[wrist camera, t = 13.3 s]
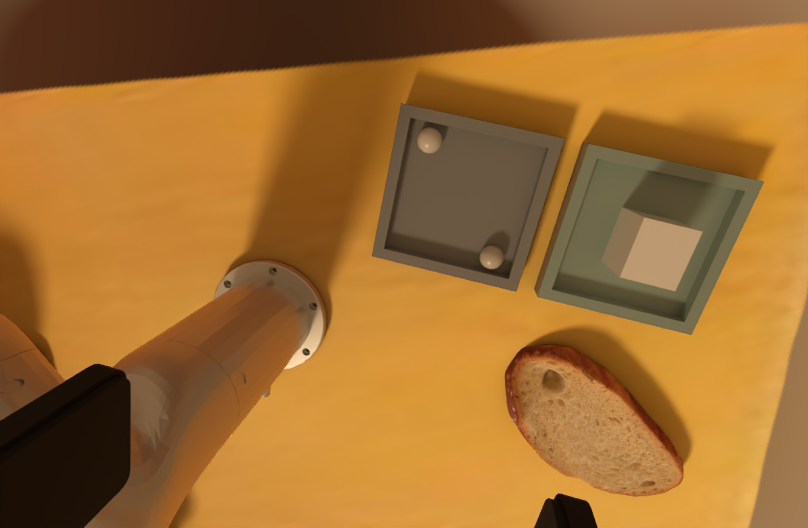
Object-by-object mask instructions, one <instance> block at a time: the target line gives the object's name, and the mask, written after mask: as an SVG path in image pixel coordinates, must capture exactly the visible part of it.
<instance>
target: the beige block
mask: <svg viewBox="0 0 808 528" xmlns="http://www.w3.org/2000/svg"><path fill="white" fill-rule="evenodd" d="M702 233H703V232H702V231H700V230H698V229H695V228H693V227H690V226H688V225H685V224H683V223H680V222H678V221H676V220H673V219H669V218H665V217H661V216H657V215H653V214H649V213H644V212H640V211H636V210H632V209H628V208H624V207H622V209H621V211H620V214H619V216H618V219H617V221H616V224H615V226H614V229H613V232H612V234H611V237H610V239H609V242H608V244H607V247H606V249H605V252H604V254H603V257H602V261H603V262H604V263H605V264H606V265H607V266H608V267H609V268H610V269H612V270H613V271H614V272H615V273H616V274H617V275H618V276H619V277H621V278H625V279H629V280H633V281H636V282H640V283H644V284H648V285H652V286H656V287H660V288H664V289H668V290H672V291H676V289H677V286H678V284H679V282H680V280H681V278H682V276H683V273H684V271H685V269H686V267H687V265H688V263H689V261H690V258H691V256H692V254H693V252H694V250H695V248H696V245H697V243H698V241H699V239H700V237H701V235H702Z"/></svg>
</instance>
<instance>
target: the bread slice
mask: <svg viewBox="0 0 808 528" xmlns="http://www.w3.org/2000/svg"><path fill="white" fill-rule="evenodd" d="M505 387H506V396H507V406H508V411H509V414H510V416H511V418H512V419H513V421H514V422H515V424H516V425H517V427H518V429H519V430H520V432H521V433H522V435H523V437H524V438H525V439H526V441H527V442H528V443H529V444H530V445H531V447H532V448H533V449H534V450H535V451H536V452H537V453H538V455H539V456H540V457H541V458H542V459H543V460H544V461H546V462H547V463H548V464H549V465H550V466H551V467H553V468H554V469H556V470H557V471H558V472H560V473H562V474H563V475H566V476H570V477H575V478H578V479H580V480H582V481H584V482H587V483H588V484H590V485H591V486H593V487H594V488H597V489H600V490H603V491H607V492H610V493H615V494H623V495H629V496H635V497H636V496H650V495H655V494H662V493H665V492H667V491H668V490H670V489H672V488H675V487H677V486H678V485H679V484H680V483H681V481H682V479H683V464H682V459H681V458H680V456H679V455H678V453H677V451H676V449H675V447H674V446H673V444H672V443H671V441H670V440H669V439H668V437H667V436H666V435H665V434H664V432H663V431H662V430H661V428H660V427H659V426H658V425H657V424H656V423H655V422H654V421H653V420H652V419H651V418H650V416H649V415H648V414H647V413H646V412H645V410H644V409H643V408H642V407H641V406H640V404H639V403H638V402H637V401H636V400H635V398H634V397H633V396H632V395H631V394H630V393H629V391H628V390H627V389H626V388H625V387H624V386H623V385H622V384H621V383H620V382H619V381H618V380H617V379H616V378H615V377H614V376H613V375H612V374H611V373H610V372H609V371H607V370H606V369H605V368H603V367H600V366H598V365H597V364H595V363H594V362H593V361H592V360H590V359H589V358H587V357H586V356H584V355H583V354H581V353H580V352H578V351H576V350H574V349H572V348H569V347H564V346H558V345H540V346H535V347H525V348H523V349H521V350H520V351H519V352H518V353H517V354H516V356H515V357H514V359H513V360H512V362H511V363H510V365H509V366H508V368H507V370H506V372H505Z"/></svg>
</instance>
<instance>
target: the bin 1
mask: <svg viewBox="0 0 808 528" xmlns="http://www.w3.org/2000/svg"><path fill="white" fill-rule="evenodd" d="M564 139H565V138H560V137H555V136H551V135H546V134H541V133H537V132H532V131H528V130H523V129H518V128H514V127H509V126H505V125H500V124H495V123H491V122H486V121H481V120H477V119H472V118H468V117H463V116H458V115H454V114H449V113H445V112H440V111H435V110H431V109H426V108H421V107H417V106H412V105H408V104H403V103H401V108H400V113H399V118H398V123H397V129H396V134H395V139H394V144H393V149H392V154H391V160H390V165H389V170H388V175H387V180H386V185H385V191H384V196H383V201H382V206H381V211H380V217H379V222H378V227H377V232H376V237H375V242H374V248H373V253H372V256H374V257H378V258H382V259H386V260H390V261H394V262H398V263H402V264H406V265H410V266H414V267H418V268H422V269H426V270H430V271H434V272H438V273H442V274H447V275H451V276H455V277H459V278H463V279H467V280H471V281H475V282H479V283H483V284H487V285H491V286H495V287H499V288H503V289H507V290H511V291H515V292H516V291H517V288H518V285H519V282H520V278H521V275H522V272H523V269H524V266H525V263H526V259H527V256H528V253H529V250H530V247H531V244H532V240H533V237H534V234H535V231H536V228H537V225H538V221H539V218H540V215H541V212H542V209H543V206H544V203H545V199H546V196H547V193H548V190H549V187H550V184H551V180H552V177H553V174H554V171H555V168H556V165H557V161H558V158H559V155H560V152H561V149H562V146H563V142H564Z"/></svg>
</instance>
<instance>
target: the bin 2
mask: <svg viewBox="0 0 808 528" xmlns="http://www.w3.org/2000/svg"><path fill="white" fill-rule="evenodd" d="M763 183H764V182H763V181H759V180H754V179H749V178H745V177H740V176H735V175H731V174H726V173H722V172H717V171H712V170H708V169H703V168H699V167H694V166H689V165H685V164H680V163H675V162H671V161H666V160H662V159H657V158H652V157H648V156H643V155H638V154H634V153H629V152H625V151H620V150H615V149H611V148H606V147H602V146H597V145H592V144H585V143H582V145H581V148H580V151H579V154H578V157H577V160H576V163H575V167H574V170H573V173H572V176H571V179H570V182H569V185H568V188H567V191H566V194H565V197H564V200H563V203H562V206H561V209H560V212H559V215H558V218H557V221H556V224H555V227H554V230H553V233H552V236H551V239H550V242H549V245H548V248H547V251H546V254H545V257H544V261H543V264H542V267H541V270H540V273H539V276H538V279H537V282H536V285H535V288H534V290H535V292H536V294H537V297H540V298H544V299H548V300H552V301H556V302H560V303H564V304H568V305H572V306H576V307H580V308H584V309H588V310H593V311H597V312H601V313H605V314H609V315H613V316H617V317H621V318H625V319H629V320H633V321H637V322H641V323H645V324H649V325H653V326H657V327H661V328H666V329H670V330H674V331H678V332H682V333H686V334H690V335H692V332H693V330H694V328H695V326H696V324H697V322H698V320H699V318H700V316H701V313H702V311H703V309H704V307H705V305H706V303H707V301H708V299H709V297H710V295H711V292H712V290H713V288H714V286H715V284H716V282H717V280H718V278H719V276H720V273H721V271H722V269H723V267H724V265H725V263H726V261H727V259H728V257H729V255H730V252H731V250H732V248H733V246H734V244H735V242H736V240H737V238H738V236H739V233H740V231H741V229H742V227H743V225H744V223H745V221H746V219H747V217H748V215H749V212H750V210H751V208H752V206H753V204H754V202H755V200H756V198H757V196H758V193H759V191H760V189H761V187H762V185H763ZM622 207H624V208H628V209H632V210H636V211H640V212H644V213H649V214H653V215H657V216H661V217H665V218H669V219H673V220H676V221H678V222H680V223H683V224H685V225H688V226H690V227H693V228H695V229H698V230H700V231H702V232H703V233H702V235H701V237H700V239H699V241H698V243H697V245H696V248H695V250H694V252H693V254H692V256H691V258H690V261H689V263H688V265H687V267H686V269H685V271H684V273H683V276H682V278H681V280H680V282H679V284H678V286H677V289H676V291H672V290H668V289H664V288H660V287H656V286H652V285H648V284H644V283H640V282H636V281H633V280H629V279H625V278H621V277H619V276H618V275H617V274H616V273H615V272H614V271H613V270H612V269H610V268H609V267H608V266H607V265H606V264H605V263H604V262H603V261H602V257H603V254H604V252H605V249H606V247H607V244H608V242H609V239H610V237H611V234H612V232H613V229H614V226H615V224H616V221H617V219H618V216H619V214H620V211H621V209H622Z"/></svg>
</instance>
